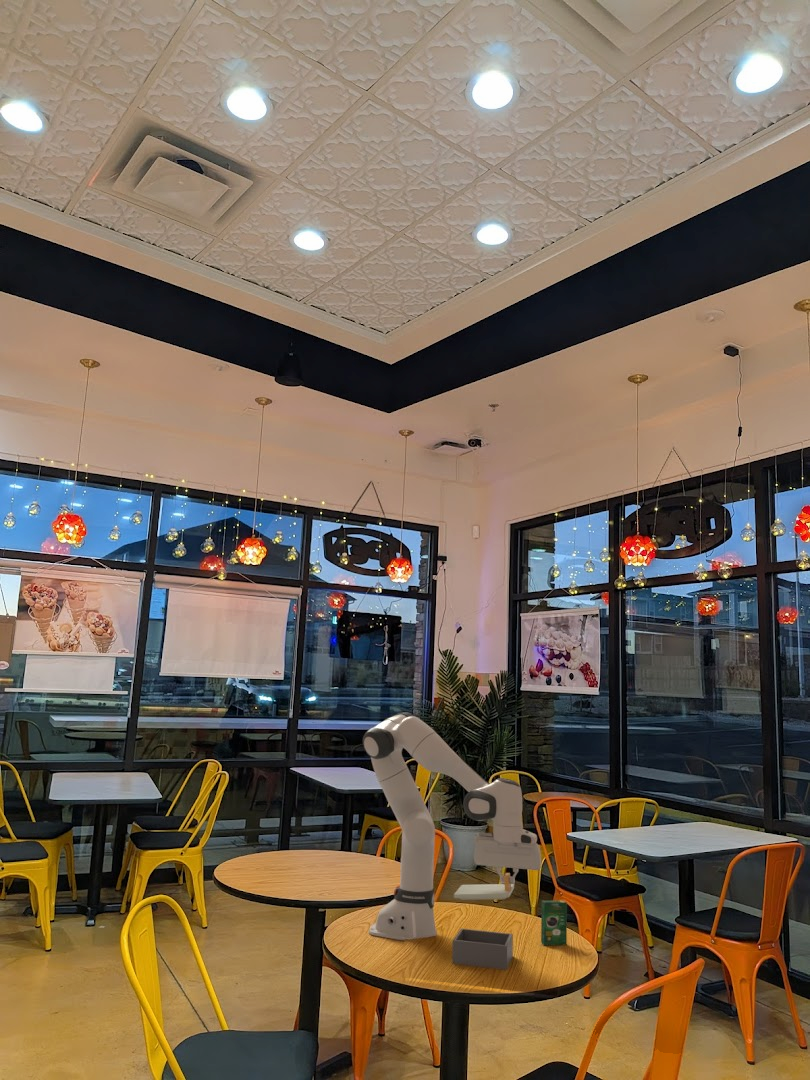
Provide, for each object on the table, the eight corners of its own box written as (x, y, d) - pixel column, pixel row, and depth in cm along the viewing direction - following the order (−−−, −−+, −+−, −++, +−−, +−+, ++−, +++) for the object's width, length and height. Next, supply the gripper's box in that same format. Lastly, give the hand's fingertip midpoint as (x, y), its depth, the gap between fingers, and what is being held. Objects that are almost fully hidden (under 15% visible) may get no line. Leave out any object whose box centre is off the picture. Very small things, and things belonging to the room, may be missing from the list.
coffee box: (564, 942, 251) (563, 899, 254) (567, 945, 249) (567, 901, 251) (540, 943, 250) (540, 899, 252) (544, 946, 247) (543, 902, 250)
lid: (454, 900, 229) (452, 879, 230) (462, 890, 241) (460, 871, 243) (509, 900, 225) (507, 879, 226) (514, 890, 238) (512, 870, 239)
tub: (452, 966, 225) (452, 940, 227) (460, 953, 238) (461, 928, 239) (507, 972, 221) (507, 946, 223) (512, 958, 234) (512, 933, 235)
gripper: (472, 833, 235) (471, 881, 232) (540, 838, 230) (540, 888, 227) (475, 830, 241) (474, 877, 238) (541, 835, 236) (541, 884, 233)
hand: (507, 883), depth 232 cm, fingers closed on lid
